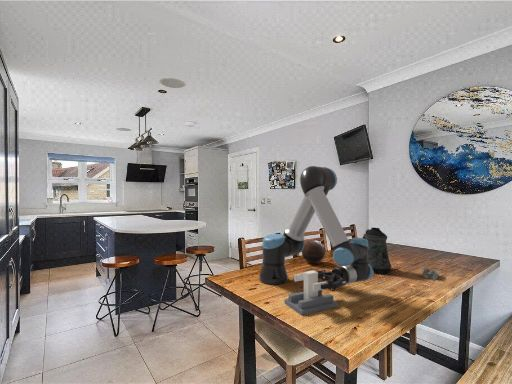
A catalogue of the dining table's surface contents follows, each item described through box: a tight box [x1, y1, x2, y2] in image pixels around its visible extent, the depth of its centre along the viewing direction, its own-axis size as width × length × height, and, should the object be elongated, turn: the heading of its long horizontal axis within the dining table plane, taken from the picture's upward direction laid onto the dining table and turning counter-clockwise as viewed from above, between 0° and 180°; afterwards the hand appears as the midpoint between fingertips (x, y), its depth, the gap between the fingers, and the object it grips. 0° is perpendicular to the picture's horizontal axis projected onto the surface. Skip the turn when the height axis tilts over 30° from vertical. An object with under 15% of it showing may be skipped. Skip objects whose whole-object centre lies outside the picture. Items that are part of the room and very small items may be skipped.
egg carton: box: [422, 266, 440, 280], centre depth 147 cm, size 10×7×4 cm
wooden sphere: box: [301, 239, 326, 264], centre depth 175 cm, size 15×15×15 cm
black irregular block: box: [362, 227, 392, 275], centre depth 161 cm, size 16×19×25 cm
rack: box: [283, 290, 339, 316], centre depth 110 cm, size 12×18×4 cm, turn 116°
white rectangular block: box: [303, 270, 319, 299], centre depth 110 cm, size 3×5×12 cm, turn 116°
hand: (303, 282), depth 108 cm, fingers open, 12 cm apart
